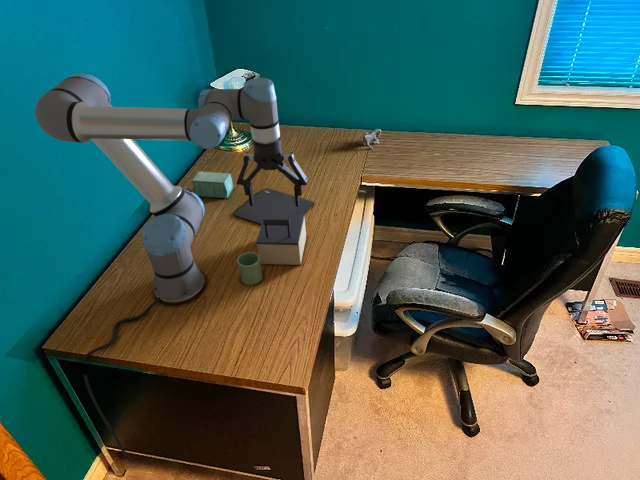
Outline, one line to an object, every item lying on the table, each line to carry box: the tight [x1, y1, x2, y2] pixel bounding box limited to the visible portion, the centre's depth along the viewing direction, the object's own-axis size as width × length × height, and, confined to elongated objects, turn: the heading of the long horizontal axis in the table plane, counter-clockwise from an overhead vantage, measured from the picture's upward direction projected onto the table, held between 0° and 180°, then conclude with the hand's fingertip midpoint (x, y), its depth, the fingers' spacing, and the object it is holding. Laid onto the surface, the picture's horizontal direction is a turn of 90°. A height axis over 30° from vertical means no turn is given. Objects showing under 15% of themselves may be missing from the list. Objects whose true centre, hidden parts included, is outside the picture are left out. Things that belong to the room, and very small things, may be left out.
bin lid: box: [255, 213, 305, 245], centre depth 153 cm, size 16×13×7 cm
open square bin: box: [256, 215, 307, 266], centre depth 158 cm, size 15×13×9 cm
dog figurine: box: [362, 128, 382, 150], centre depth 215 cm, size 12×6×7 cm, turn 138°
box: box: [191, 170, 234, 199], centre depth 189 cm, size 7×14×8 cm, turn 79°
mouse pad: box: [234, 188, 313, 225], centre depth 180 cm, size 23×20×1 cm
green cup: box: [236, 251, 264, 286], centre depth 148 cm, size 7×7×8 cm
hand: (274, 204), depth 143 cm, fingers open, 13 cm apart
